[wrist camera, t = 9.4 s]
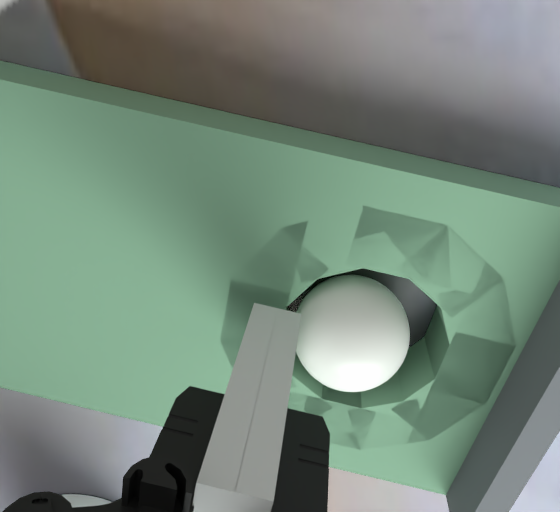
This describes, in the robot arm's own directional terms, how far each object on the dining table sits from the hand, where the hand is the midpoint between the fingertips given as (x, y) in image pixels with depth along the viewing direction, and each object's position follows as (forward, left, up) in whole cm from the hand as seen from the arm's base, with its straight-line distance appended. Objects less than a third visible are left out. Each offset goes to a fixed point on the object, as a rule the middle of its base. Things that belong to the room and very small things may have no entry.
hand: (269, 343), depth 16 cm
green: (-6, 0, -4) cm, 7 cm away
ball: (+3, 0, -2) cm, 3 cm away
